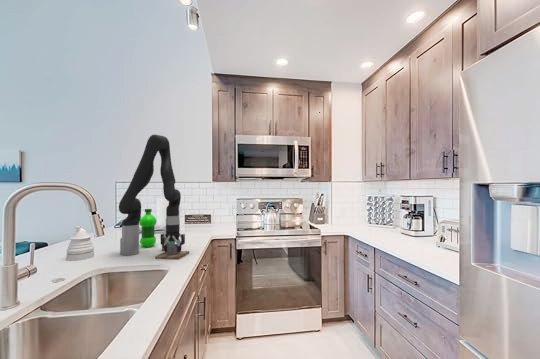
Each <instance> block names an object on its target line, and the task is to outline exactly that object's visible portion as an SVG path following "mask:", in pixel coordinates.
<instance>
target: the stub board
mask: <svg viewBox="0 0 540 359" xmlns="http://www.w3.org/2000/svg"><path fill="white" fill-rule="evenodd" d="M188 254H190V251H189V250H181V252H178V254H176V255H167V252H165V251H164V252H163V251H162V252H161V253H160V254H157V255H156V256H154V259H155V260H177V261H178V260H181V259H182V258H184V257H185V256H187V255H188Z"/></svg>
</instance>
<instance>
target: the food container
mask: <svg viewBox="0 0 540 359" xmlns="http://www.w3.org/2000/svg"><path fill="white" fill-rule="evenodd" d="M166 239H167V238H166V236H165V241H166ZM168 244H176V242H175V241H169V243H168ZM168 244H167V245H168ZM161 251H162V252H163V251H164V245H161ZM164 252H165V251H164Z"/></svg>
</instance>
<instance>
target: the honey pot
mask: <svg viewBox="0 0 540 359" xmlns="http://www.w3.org/2000/svg"><path fill="white" fill-rule="evenodd" d="M74 228H75V232H74V233H73V236H71V237H70V238H69V240H70V242H69V244H68V245H67V249H66V258H65V259H66V261H67V262H71V261H72V262H76V261H84V260H89V259H92V258H94V257H95V246H94V244H93V241H92V239H91V238H92V235H89V233H88V232H87V231H86V230H85V229H84V228H81V226H80V225H77V226H74Z"/></svg>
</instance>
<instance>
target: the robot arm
mask: <svg viewBox="0 0 540 359" xmlns="http://www.w3.org/2000/svg"><path fill="white" fill-rule="evenodd" d="M170 147H171V146H170V141H169V139H168V137H166V136H164V135H160V134H152V135H150V136H149V137H148V139H147V141H146V144H145V148H144V151H143V153H142V156H141V159H140V161H139V163H138V166H137V167H136V169H135V172H134V174H133V177H132V179H131V181H130V183H129V185H128V187H127V188H126V191H125V193H124V194H123V196H122V198H121V200H120V201H119V203H118V210H119V213H121V214H122V215H127V216H126V217H125V218H124V219H123V220H121V237H120V240H119V242H120V243H119V248H120V249H119V250H120V251H119V255H121V256H133V255H137V254H139V253H140V219H141V218H142V203H141V201H140V199H139V198H137V196H138V195H139V193H140V192H141V191H143V189H145V188H146V187H147V186H148V185H149V183H150V181H151V179H152V178H153V175H154V170H155V169H154V168H155V166H154V160H155V158H156V157H157V154H158V153H159V155H160V159H161V160H160V169H159V171H160V172H159V173H160V176H161V181H162V186H163V196H164V199H165V200H166V201H168V205H167V206H166V210H165V212H166V214H165V216H166V217H165V233H161V234H160V245H161V246H162V245H164V252H167V244H168V243H169V241H175V244H178V252H181V251H182V246H183V245H185V243H186V234H185V233H182V234H181V232H180V230H181V229H180V226H181V225H180V222H181V221H180V205H181V197H182V196H181V192H180V190H178V188H176V187H175V185H176V177H175V173H174V170H173V164H172V158H171V155H172V154H171V148H170ZM165 236H166V238H167V239H166V241H165Z"/></svg>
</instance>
